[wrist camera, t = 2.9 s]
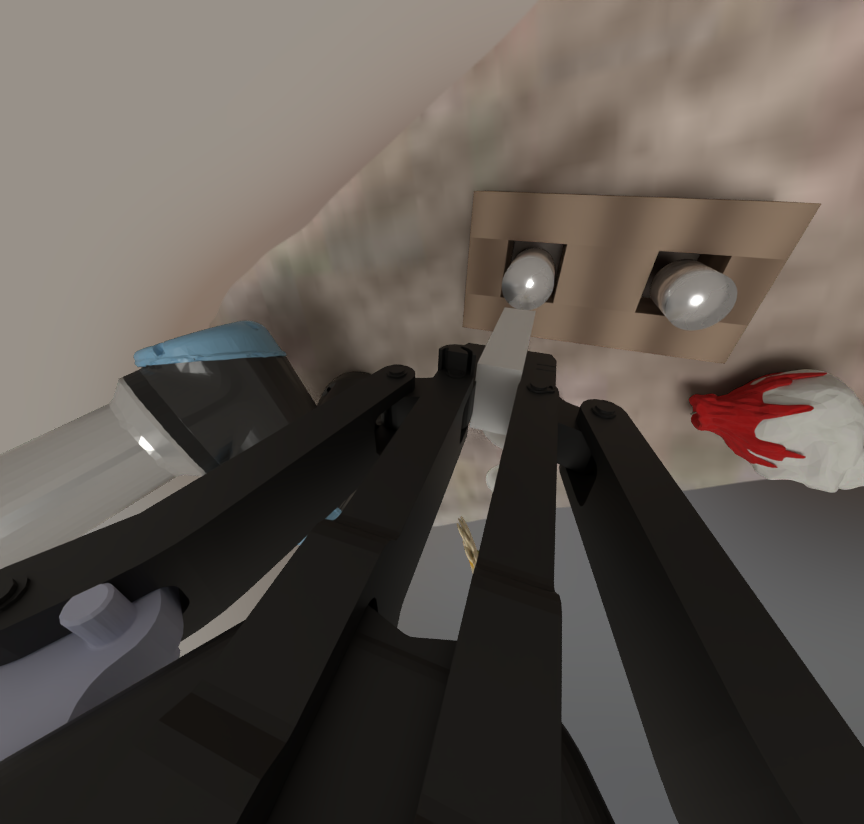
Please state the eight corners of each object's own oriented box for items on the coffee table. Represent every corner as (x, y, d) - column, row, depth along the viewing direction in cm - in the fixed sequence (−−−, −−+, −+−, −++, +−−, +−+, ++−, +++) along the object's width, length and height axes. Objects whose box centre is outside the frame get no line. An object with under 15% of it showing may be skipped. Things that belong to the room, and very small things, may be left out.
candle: (829, 454, 35) (664, 430, 41) (899, 358, 29) (694, 347, 35) (878, 518, 28) (673, 478, 35) (983, 412, 22) (712, 386, 29)
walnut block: (474, 310, 39) (462, 327, 34) (486, 190, 32) (473, 191, 28) (701, 339, 33) (724, 363, 29) (774, 201, 27) (821, 203, 22)
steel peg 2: (642, 306, 29) (656, 326, 24) (661, 257, 26) (681, 270, 22) (693, 311, 28) (718, 334, 24) (718, 261, 26) (750, 275, 21)
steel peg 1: (506, 291, 32) (498, 307, 27) (513, 245, 29) (505, 255, 25) (549, 296, 31) (547, 313, 26) (559, 249, 28) (559, 259, 24)
